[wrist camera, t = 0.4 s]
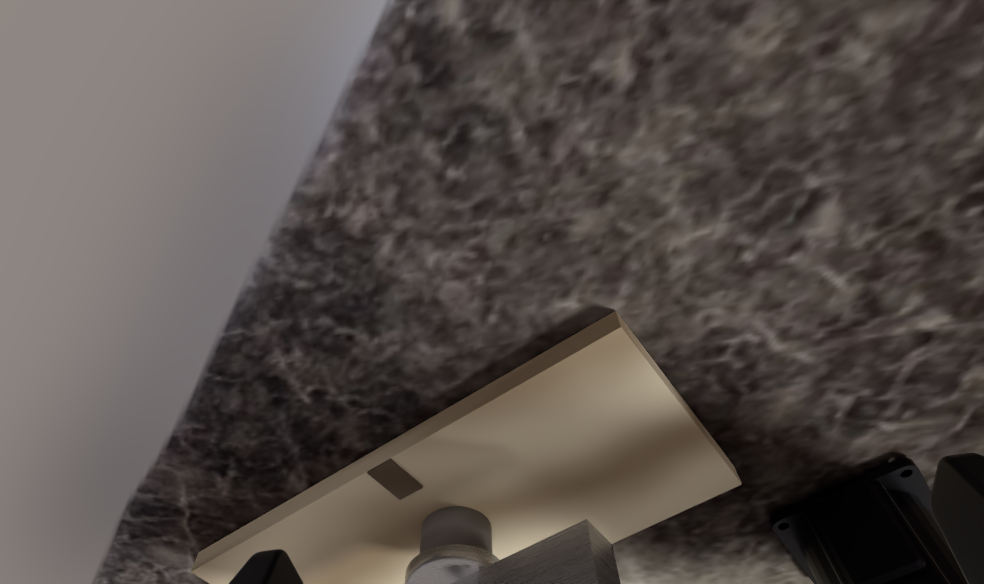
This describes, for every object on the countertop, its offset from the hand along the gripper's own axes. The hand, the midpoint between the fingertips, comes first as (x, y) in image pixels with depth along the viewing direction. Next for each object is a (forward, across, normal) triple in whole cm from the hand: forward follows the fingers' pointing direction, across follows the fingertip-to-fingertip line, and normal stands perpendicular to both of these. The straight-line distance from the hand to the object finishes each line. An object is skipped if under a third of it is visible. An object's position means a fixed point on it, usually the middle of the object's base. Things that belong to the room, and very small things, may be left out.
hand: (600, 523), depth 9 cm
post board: (+14, +6, +15) cm, 21 cm away
